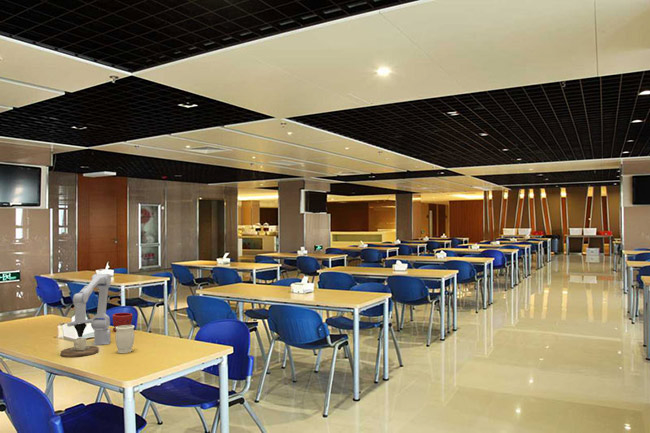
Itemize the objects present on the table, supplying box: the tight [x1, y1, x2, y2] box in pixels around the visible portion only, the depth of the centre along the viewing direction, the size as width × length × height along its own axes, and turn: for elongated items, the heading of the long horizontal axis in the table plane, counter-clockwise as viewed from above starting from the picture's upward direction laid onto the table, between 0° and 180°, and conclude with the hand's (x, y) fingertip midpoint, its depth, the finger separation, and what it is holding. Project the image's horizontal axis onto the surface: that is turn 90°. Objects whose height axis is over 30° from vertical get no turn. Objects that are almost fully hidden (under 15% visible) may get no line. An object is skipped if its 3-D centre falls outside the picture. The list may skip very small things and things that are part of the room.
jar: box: [114, 324, 135, 354], centre depth 289 cm, size 11×10×15 cm
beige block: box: [73, 337, 88, 350], centre depth 285 cm, size 8×5×6 cm, turn 179°
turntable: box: [60, 345, 100, 358], centre depth 286 cm, size 20×20×4 cm
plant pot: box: [112, 312, 133, 332], centre depth 348 cm, size 13×13×12 cm
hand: (80, 336), depth 286 cm, fingers closed
